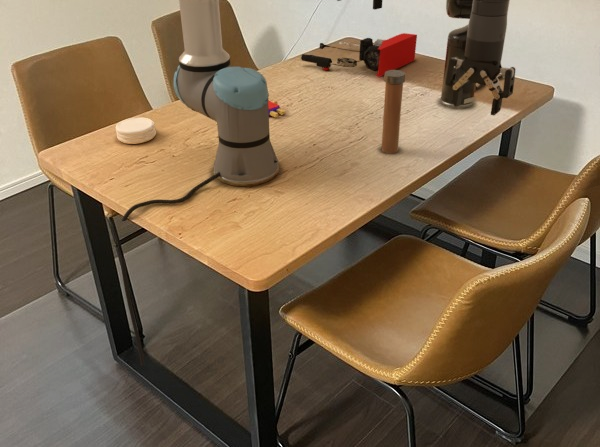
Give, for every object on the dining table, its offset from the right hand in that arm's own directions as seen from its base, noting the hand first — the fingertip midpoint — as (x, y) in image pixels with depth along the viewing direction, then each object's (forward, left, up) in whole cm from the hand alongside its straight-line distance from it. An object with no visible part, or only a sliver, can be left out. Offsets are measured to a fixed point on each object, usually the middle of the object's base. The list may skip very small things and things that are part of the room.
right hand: (475, 109), depth 135 cm
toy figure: (-2, -62, -16) cm, 64 cm away
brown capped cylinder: (-1, -21, -16) cm, 26 cm away
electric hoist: (-53, -64, -16) cm, 85 cm away
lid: (-1, -21, +4) cm, 21 cm away
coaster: (+31, -78, -16) cm, 86 cm away
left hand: (-22, -45, +12) cm, 51 cm away
